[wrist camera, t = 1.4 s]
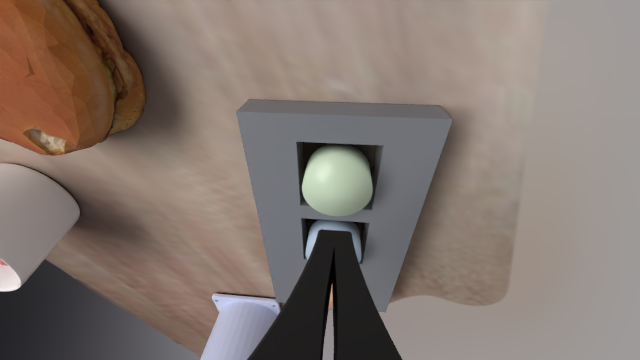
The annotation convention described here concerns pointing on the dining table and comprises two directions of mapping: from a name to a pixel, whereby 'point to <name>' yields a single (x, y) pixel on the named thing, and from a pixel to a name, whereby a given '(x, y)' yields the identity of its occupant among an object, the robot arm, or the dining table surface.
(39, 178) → the candle
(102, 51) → the burger
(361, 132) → the button panel
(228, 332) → the robot arm
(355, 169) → the green button
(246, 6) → the dining table surface
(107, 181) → the dining table surface
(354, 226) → the blue button
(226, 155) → the dining table surface
